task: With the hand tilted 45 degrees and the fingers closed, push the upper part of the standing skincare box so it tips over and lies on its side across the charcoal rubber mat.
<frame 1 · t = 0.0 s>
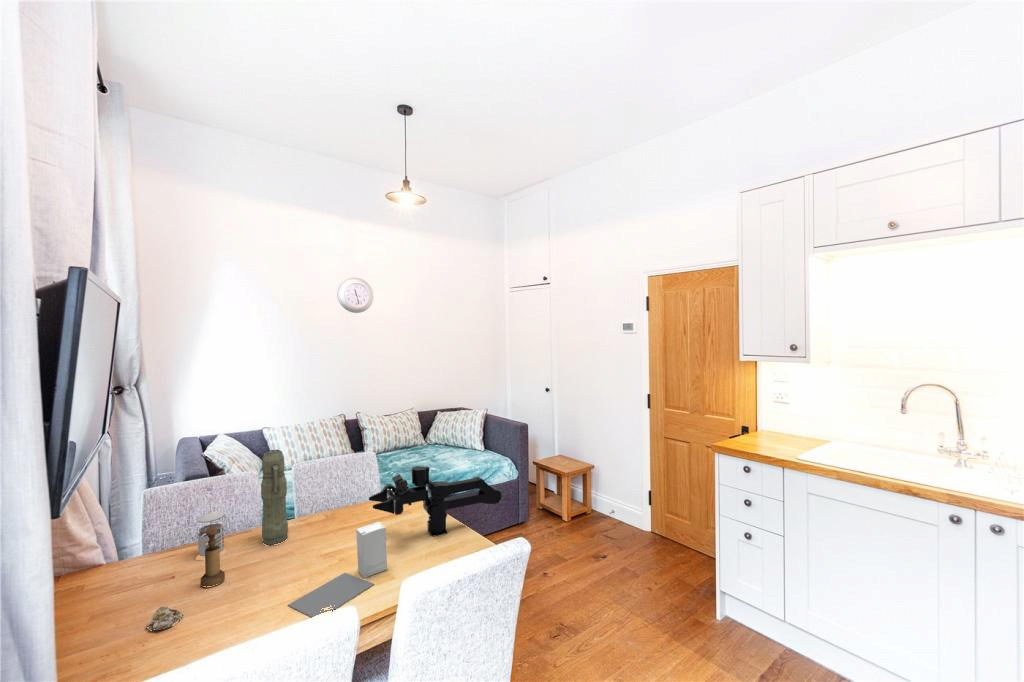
hand: (370, 502, 164), 17 cm above the table, tool horizontal, fingers open, 9 cm apart
thermos: (275, 541, 171), on the table
french press: (214, 553, 162), on the table
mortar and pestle: (213, 583, 142), on the table
mat: (332, 594, 133), on the table
skincare box: (372, 571, 146), on the table
mineral rock: (164, 622, 122), on the table
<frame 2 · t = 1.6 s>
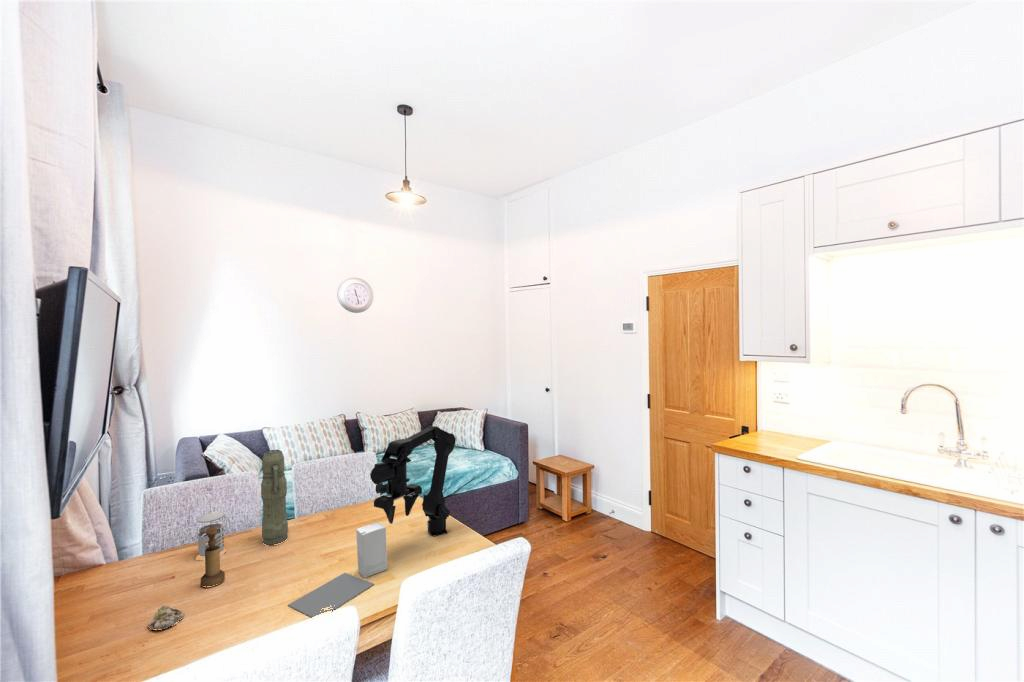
hand: (399, 519, 158), 12 cm above the table, tool pointing down, fingers open, 8 cm apart
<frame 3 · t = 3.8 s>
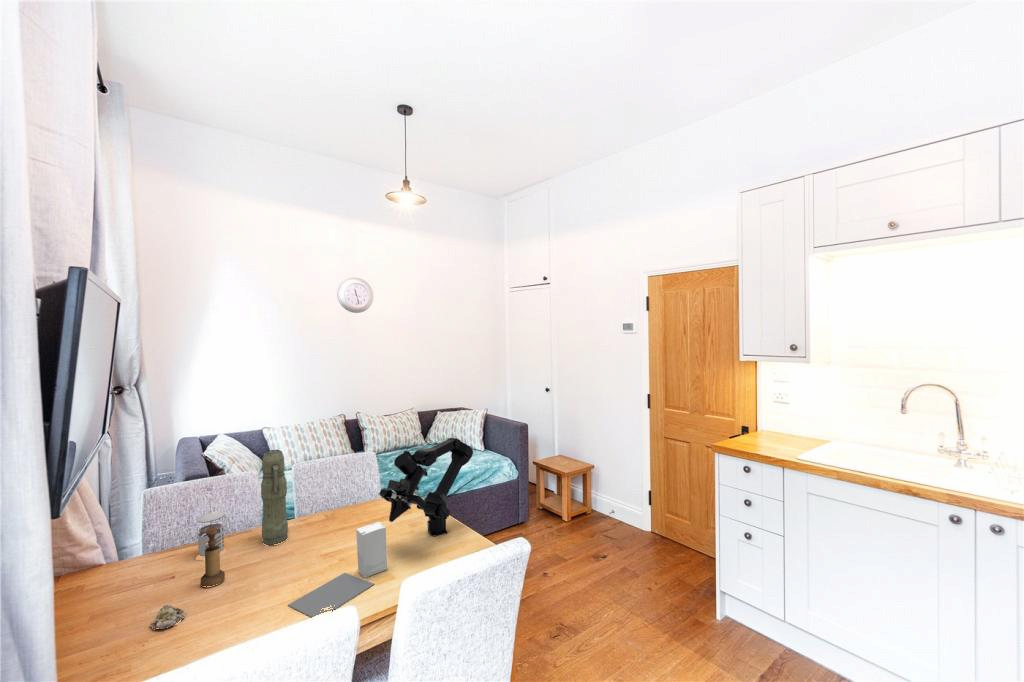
hand: (390, 521, 154), 14 cm above the table, tool tilted 45°, fingers closed
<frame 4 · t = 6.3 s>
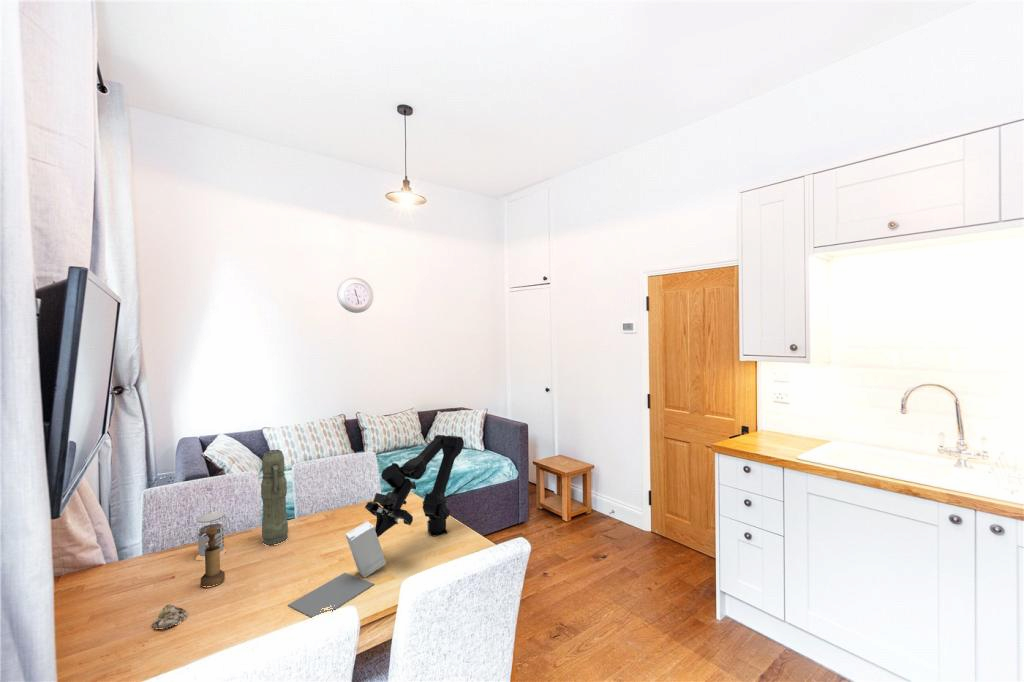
hand: (375, 536, 148), 11 cm above the table, tool tilted 45°, fingers closed
skincare box: (372, 568, 146), point 1 cm above the table, touching gripper
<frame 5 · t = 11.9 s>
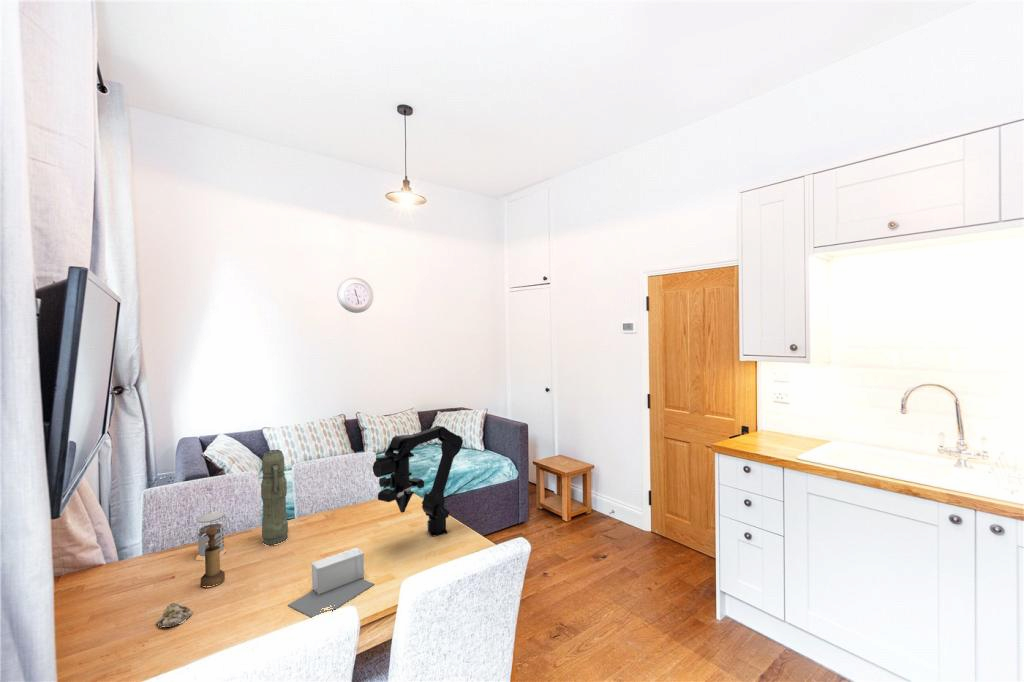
hand: (402, 512, 163), 13 cm above the table, tool pointing down, fingers closed
skincare box: (361, 562, 144), point 4 cm above the table, touching mat
at the end: skincare box tilted 88°; skincare box touching mat; skincare box 12.3 cm from the mat (horizontally) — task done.
